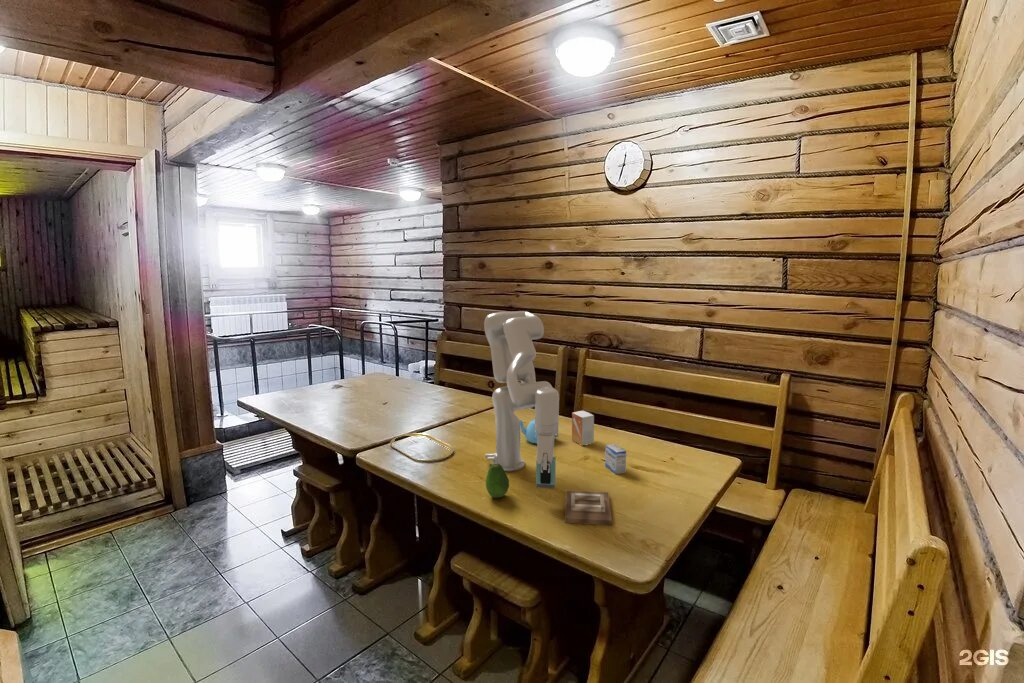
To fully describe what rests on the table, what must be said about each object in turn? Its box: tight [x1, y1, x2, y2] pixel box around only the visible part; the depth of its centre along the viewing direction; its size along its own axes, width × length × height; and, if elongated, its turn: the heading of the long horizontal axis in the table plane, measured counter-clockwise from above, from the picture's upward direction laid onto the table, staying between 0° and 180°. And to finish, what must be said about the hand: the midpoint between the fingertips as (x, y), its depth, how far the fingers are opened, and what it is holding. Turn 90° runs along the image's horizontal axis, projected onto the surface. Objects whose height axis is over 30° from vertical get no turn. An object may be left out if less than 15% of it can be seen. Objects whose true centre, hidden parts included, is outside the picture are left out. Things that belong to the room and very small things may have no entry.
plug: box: [535, 456, 557, 489], centre depth 156 cm, size 6×4×9 cm, turn 82°
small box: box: [571, 410, 595, 446], centre depth 210 cm, size 8×6×13 cm
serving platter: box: [389, 432, 455, 463], centre depth 208 cm, size 19×35×2 cm, turn 41°
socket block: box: [564, 490, 613, 526], centre depth 154 cm, size 14×18×3 cm
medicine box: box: [604, 443, 627, 475], centre depth 183 cm, size 8×4×9 cm, turn 21°
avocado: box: [485, 463, 510, 499], centre depth 163 cm, size 8×8×12 cm
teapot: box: [518, 418, 559, 445], centre depth 214 cm, size 15×15×10 cm
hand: (545, 479), depth 157 cm, fingers closed on plug, 4 cm apart
